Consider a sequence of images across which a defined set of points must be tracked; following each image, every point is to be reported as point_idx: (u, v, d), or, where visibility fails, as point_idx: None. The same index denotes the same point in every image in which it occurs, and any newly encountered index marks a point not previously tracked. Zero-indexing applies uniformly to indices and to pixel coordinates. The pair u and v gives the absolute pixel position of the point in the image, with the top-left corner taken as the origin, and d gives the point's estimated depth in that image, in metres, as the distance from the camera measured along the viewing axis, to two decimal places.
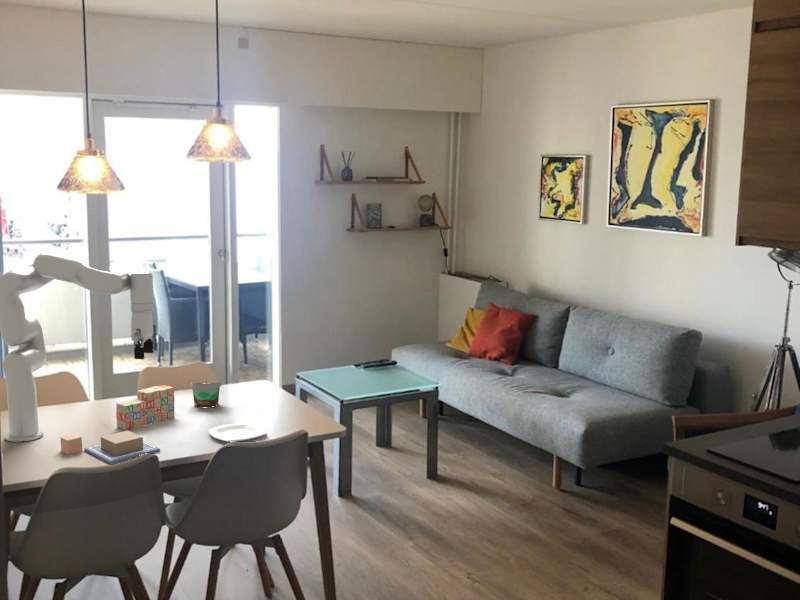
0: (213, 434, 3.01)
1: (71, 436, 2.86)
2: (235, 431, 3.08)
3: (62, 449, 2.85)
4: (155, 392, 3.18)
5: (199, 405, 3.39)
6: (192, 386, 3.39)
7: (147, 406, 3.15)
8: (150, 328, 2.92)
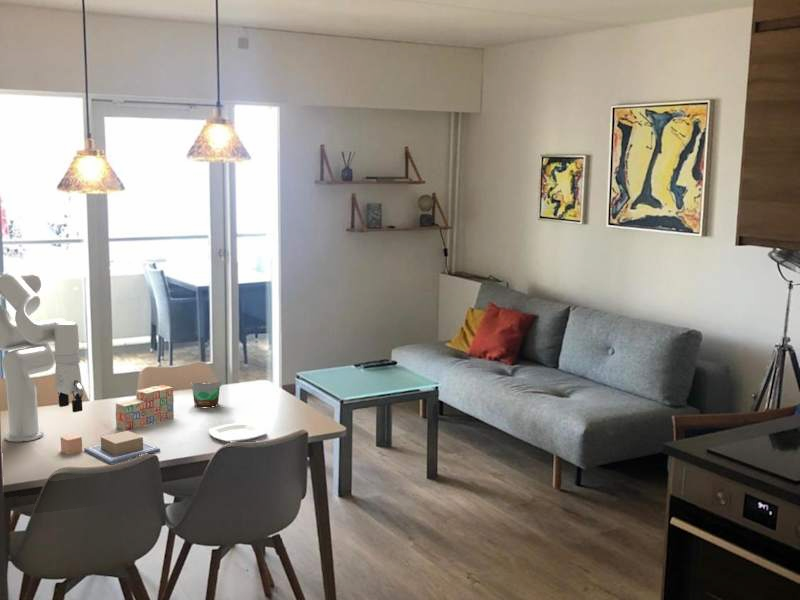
0: (213, 434, 3.01)
1: (71, 436, 2.86)
2: (235, 431, 3.08)
3: (62, 449, 2.85)
4: (154, 392, 3.18)
5: (199, 405, 3.39)
6: (192, 386, 3.39)
7: (147, 406, 3.15)
8: None
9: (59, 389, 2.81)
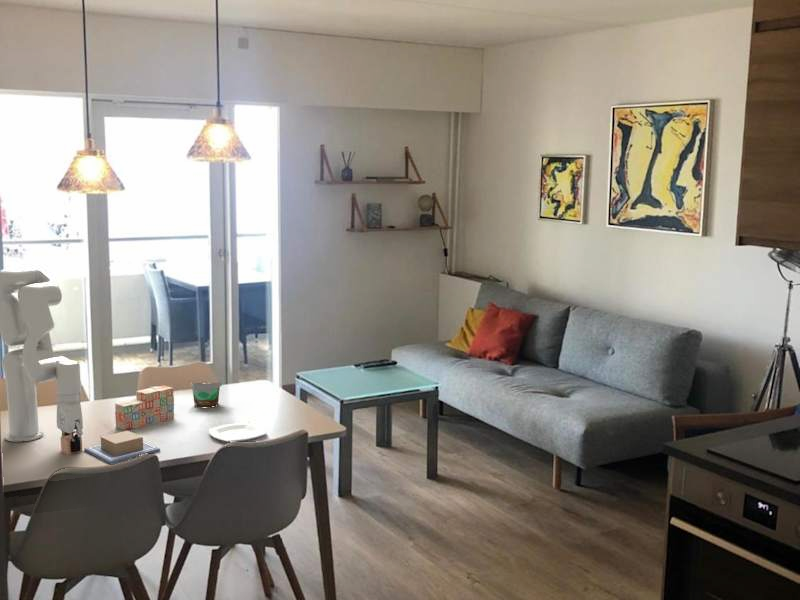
0: (213, 434, 3.01)
1: None
2: (235, 431, 3.08)
3: (62, 449, 2.85)
4: (154, 392, 3.17)
5: (199, 405, 3.39)
6: (192, 386, 3.39)
7: (146, 406, 3.15)
8: None
9: (60, 427, 2.84)
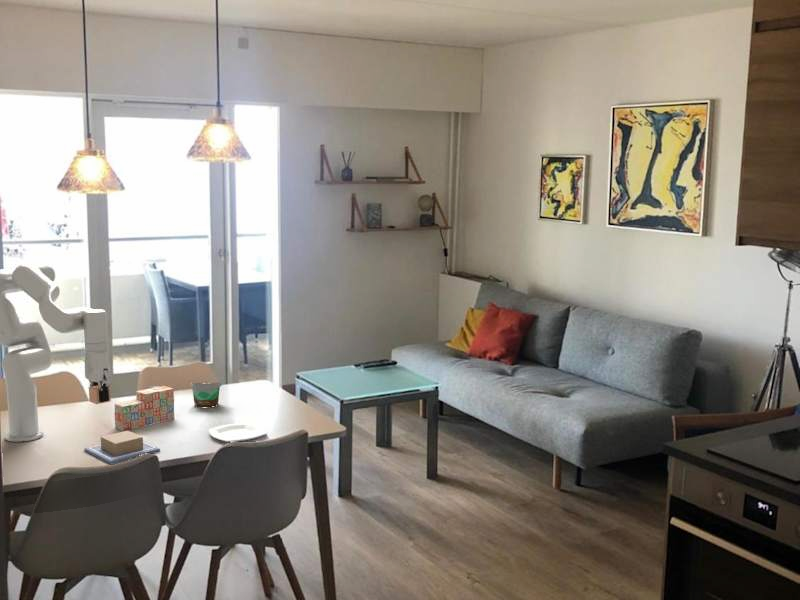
0: (213, 434, 3.01)
1: None
2: (235, 431, 3.08)
3: (90, 399, 2.83)
4: (154, 393, 3.16)
5: (199, 405, 3.39)
6: (192, 386, 3.39)
7: (146, 407, 3.14)
8: None
9: (88, 377, 2.81)
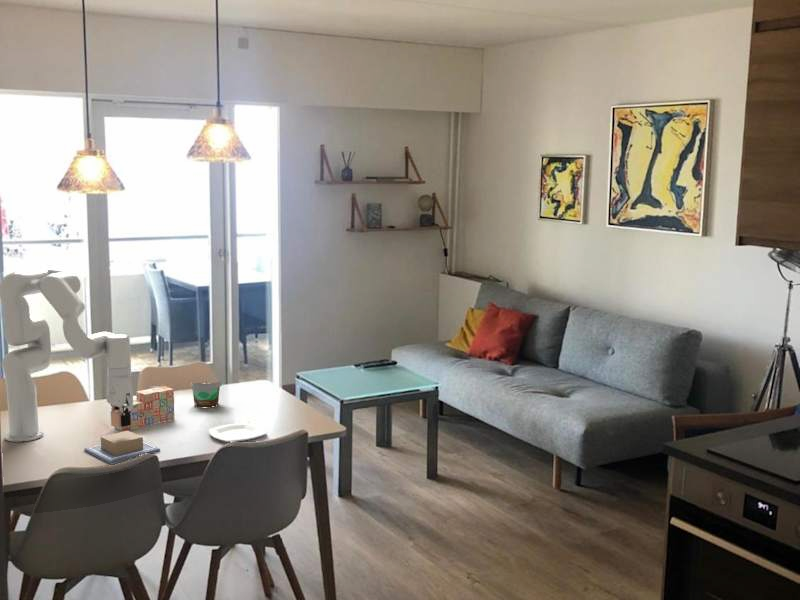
0: (213, 434, 3.01)
1: None
2: (235, 431, 3.08)
3: (112, 423, 2.84)
4: (154, 393, 3.16)
5: (199, 405, 3.39)
6: (192, 386, 3.39)
7: (145, 407, 3.14)
8: None
9: (110, 401, 2.83)
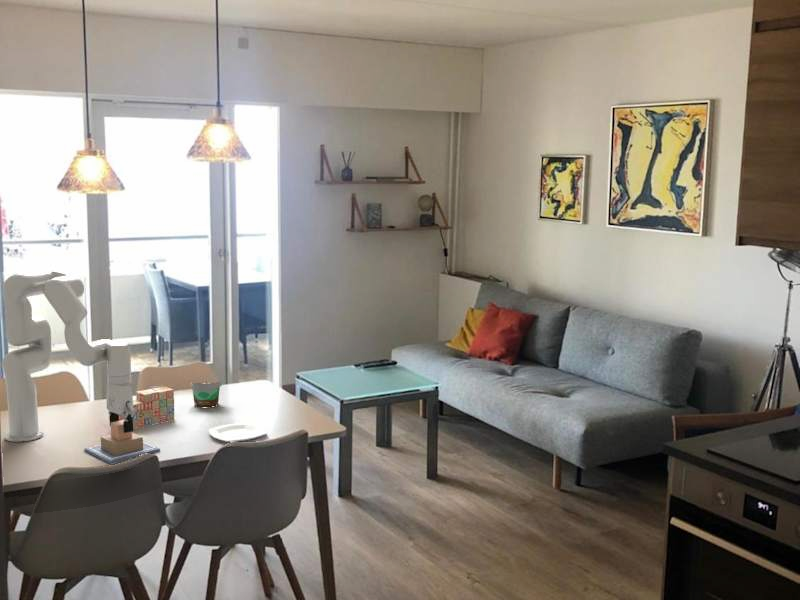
0: (213, 434, 3.01)
1: (121, 422, 2.85)
2: (235, 431, 3.08)
3: (112, 435, 2.85)
4: (153, 394, 3.15)
5: (199, 405, 3.39)
6: (192, 386, 3.39)
7: (145, 407, 3.13)
8: None
9: (110, 409, 2.83)
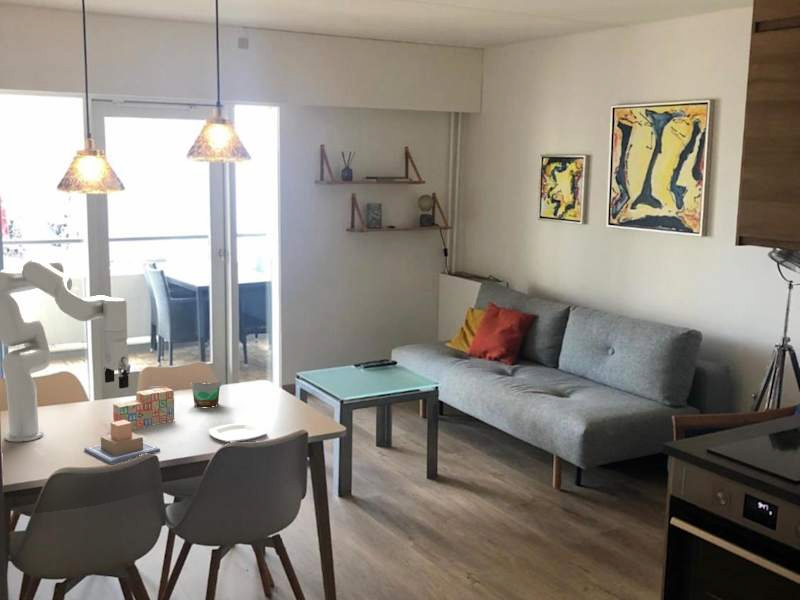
0: (213, 434, 3.01)
1: (121, 422, 2.85)
2: (235, 431, 3.08)
3: (112, 435, 2.85)
4: (153, 394, 3.15)
5: (199, 405, 3.39)
6: (192, 386, 3.39)
7: (144, 408, 3.13)
8: None
9: (106, 365, 2.83)
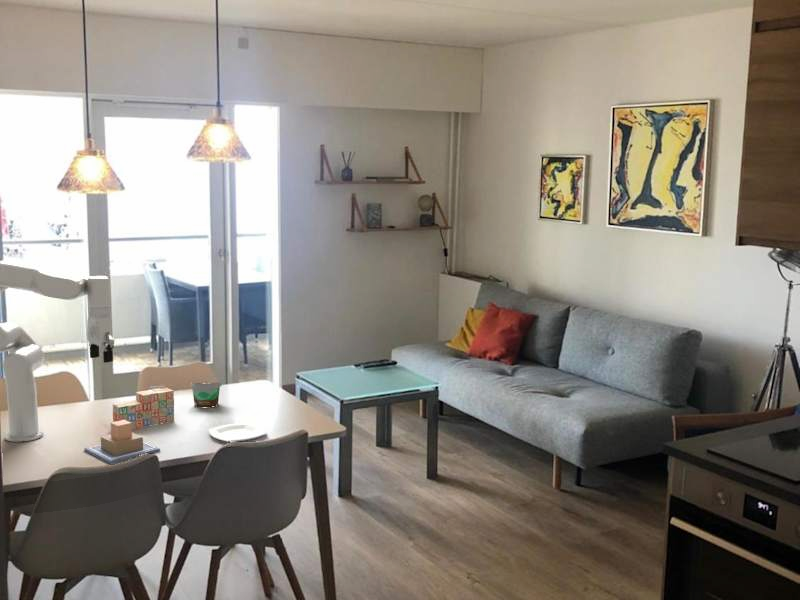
0: (213, 434, 3.01)
1: (121, 422, 2.85)
2: (235, 431, 3.08)
3: (112, 435, 2.85)
4: (152, 395, 3.14)
5: (199, 405, 3.39)
6: (192, 386, 3.39)
7: (143, 408, 3.12)
8: None
9: (91, 340, 2.94)
